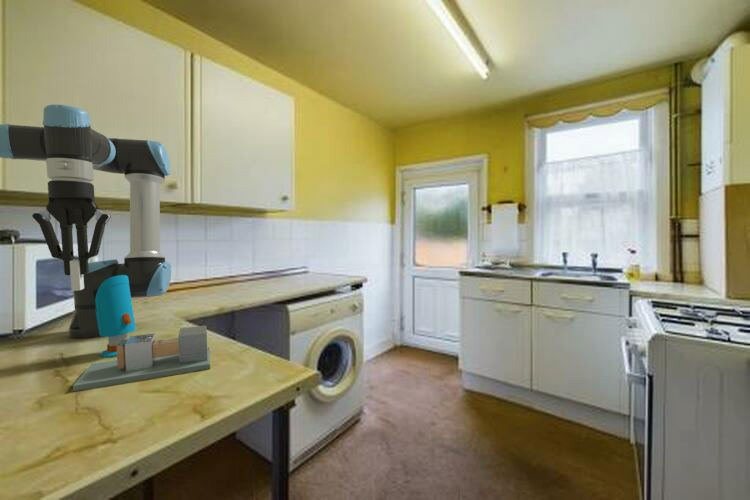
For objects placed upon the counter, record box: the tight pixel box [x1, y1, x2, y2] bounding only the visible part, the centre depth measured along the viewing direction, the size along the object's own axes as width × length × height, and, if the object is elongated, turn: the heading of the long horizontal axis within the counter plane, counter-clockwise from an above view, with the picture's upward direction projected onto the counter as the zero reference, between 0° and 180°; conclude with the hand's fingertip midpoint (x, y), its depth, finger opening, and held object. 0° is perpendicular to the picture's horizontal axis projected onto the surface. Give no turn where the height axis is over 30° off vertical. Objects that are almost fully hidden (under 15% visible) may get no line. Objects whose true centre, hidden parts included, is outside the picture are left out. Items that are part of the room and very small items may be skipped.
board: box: [72, 346, 211, 392], centre depth 83 cm, size 13×26×1 cm, turn 116°
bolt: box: [116, 337, 179, 369], centre depth 83 cm, size 5×15×5 cm, turn 116°
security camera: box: [93, 275, 137, 358], centre depth 93 cm, size 8×21×10 cm
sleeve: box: [125, 333, 156, 372], centre depth 82 cm, size 7×5×6 cm
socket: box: [177, 325, 208, 365], centre depth 86 cm, size 8×6×7 cm
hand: (77, 289), depth 76 cm, fingers closed
